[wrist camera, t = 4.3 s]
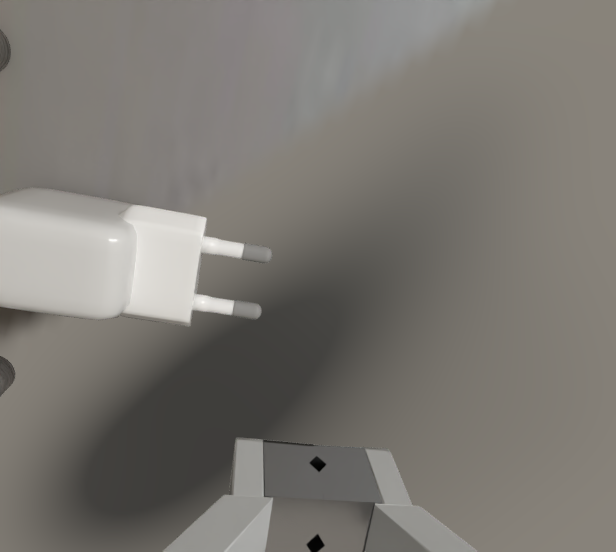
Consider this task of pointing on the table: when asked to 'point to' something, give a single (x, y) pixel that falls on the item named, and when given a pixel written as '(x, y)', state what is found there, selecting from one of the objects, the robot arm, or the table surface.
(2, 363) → the steel pins
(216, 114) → the table surface
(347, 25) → the table surface
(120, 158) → the table surface
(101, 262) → the power adapter
